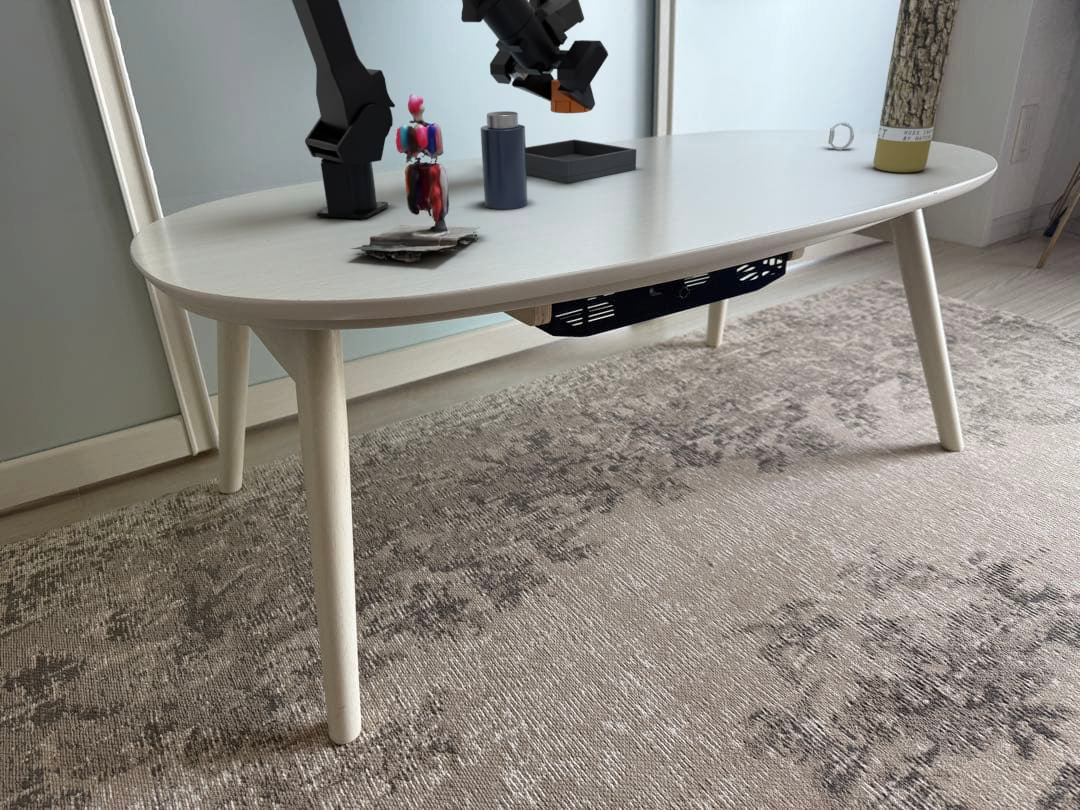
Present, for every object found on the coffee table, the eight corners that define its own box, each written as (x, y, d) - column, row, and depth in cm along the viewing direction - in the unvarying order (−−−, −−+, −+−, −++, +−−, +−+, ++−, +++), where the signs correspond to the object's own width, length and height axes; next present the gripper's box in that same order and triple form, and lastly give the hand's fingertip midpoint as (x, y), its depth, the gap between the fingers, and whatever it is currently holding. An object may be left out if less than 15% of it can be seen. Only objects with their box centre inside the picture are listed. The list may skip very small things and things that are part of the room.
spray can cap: (595, 111, 108) (596, 80, 106) (559, 114, 107) (558, 82, 105) (582, 107, 113) (582, 77, 111) (546, 109, 111) (546, 79, 109)
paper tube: (929, 166, 109) (970, -39, 98) (920, 175, 104) (963, -40, 92) (878, 162, 112) (912, -37, 101) (867, 171, 107) (902, -38, 96)
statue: (402, 243, 85) (392, 96, 80) (481, 247, 83) (477, 94, 77) (349, 260, 76) (334, 93, 70) (437, 265, 73) (428, 92, 68)
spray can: (520, 210, 92) (517, 116, 88) (478, 208, 94) (473, 116, 89) (532, 200, 97) (529, 110, 92) (492, 198, 98) (488, 110, 93)
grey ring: (852, 148, 123) (855, 121, 121) (852, 150, 121) (855, 123, 119) (827, 148, 124) (831, 121, 122) (827, 150, 122) (830, 123, 121)
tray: (567, 183, 105) (567, 162, 104) (507, 170, 114) (506, 150, 113) (636, 169, 112) (636, 149, 111) (574, 157, 122) (574, 139, 120)
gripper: (598, -34, 93) (657, 61, 104) (502, -28, 106) (564, 56, 117) (549, 42, 92) (613, 130, 103) (459, 39, 105) (525, 117, 116)
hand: (578, 105), depth 110 cm, fingers closed on spray can cap, 5 cm apart
